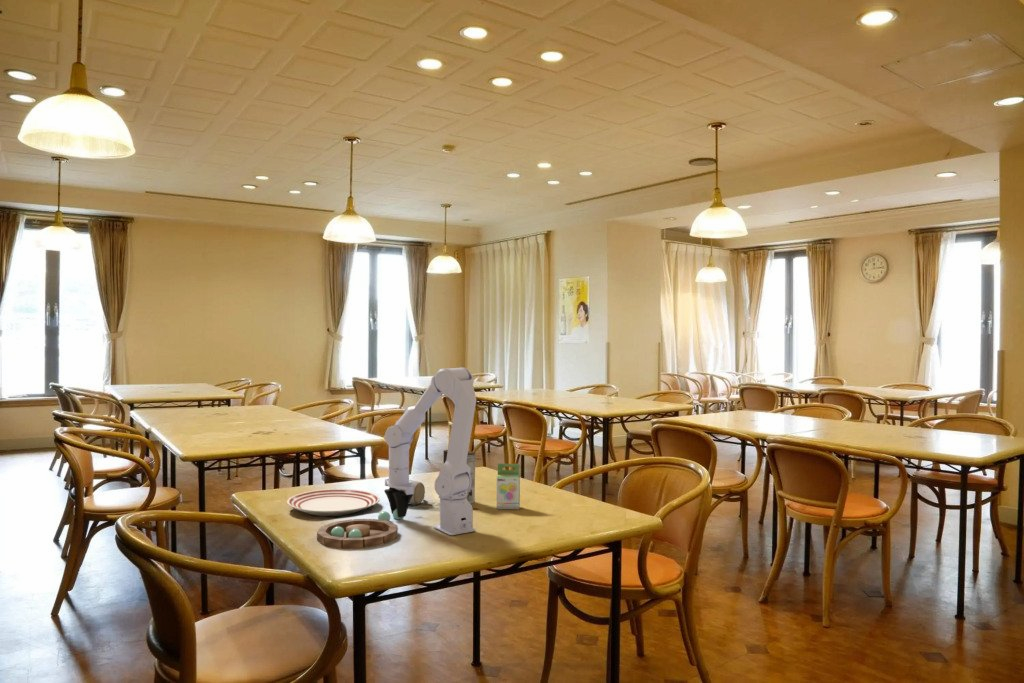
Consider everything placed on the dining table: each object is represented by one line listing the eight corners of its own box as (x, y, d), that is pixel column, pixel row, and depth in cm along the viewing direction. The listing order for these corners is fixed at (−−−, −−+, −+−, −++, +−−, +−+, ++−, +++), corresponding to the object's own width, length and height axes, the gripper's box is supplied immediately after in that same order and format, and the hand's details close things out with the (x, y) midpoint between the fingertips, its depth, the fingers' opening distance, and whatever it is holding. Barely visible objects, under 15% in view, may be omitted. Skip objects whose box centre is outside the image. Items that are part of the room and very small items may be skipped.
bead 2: (406, 520, 202) (406, 508, 202) (395, 522, 200) (395, 510, 200) (401, 518, 205) (401, 506, 204) (390, 519, 203) (390, 507, 203)
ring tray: (410, 541, 181) (410, 530, 181) (335, 555, 169) (335, 543, 169) (377, 524, 197) (377, 513, 197) (307, 535, 186) (307, 524, 186)
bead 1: (392, 523, 198) (392, 511, 198) (381, 525, 196) (381, 513, 196) (387, 521, 201) (387, 509, 201) (375, 523, 199) (376, 511, 199)
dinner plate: (397, 503, 223) (397, 493, 223) (341, 524, 198) (341, 513, 198) (327, 495, 234) (327, 485, 234) (267, 514, 209) (267, 502, 209)
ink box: (496, 509, 215) (496, 465, 215) (497, 506, 219) (497, 463, 219) (519, 510, 215) (519, 466, 215) (519, 506, 219) (520, 463, 218)
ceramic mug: (415, 507, 217) (416, 482, 217) (392, 505, 220) (392, 480, 220) (430, 500, 227) (430, 476, 228) (407, 498, 230) (407, 474, 230)
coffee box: (442, 500, 227) (442, 450, 226) (458, 497, 231) (458, 448, 231) (459, 505, 220) (459, 453, 220) (475, 502, 224) (476, 451, 224)
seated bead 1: (346, 540, 180) (346, 527, 180) (333, 542, 178) (333, 529, 178) (341, 537, 183) (341, 524, 183) (328, 539, 181) (328, 526, 181)
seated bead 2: (364, 543, 177) (364, 529, 177) (351, 545, 176) (351, 531, 175) (358, 540, 180) (358, 526, 180) (346, 542, 178) (346, 528, 178)
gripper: (423, 470, 198) (423, 518, 199) (400, 462, 210) (400, 508, 210) (400, 472, 194) (400, 522, 194) (378, 464, 206) (378, 511, 206)
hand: (398, 515), depth 202 cm, fingers closed on bead 2, 3 cm apart
